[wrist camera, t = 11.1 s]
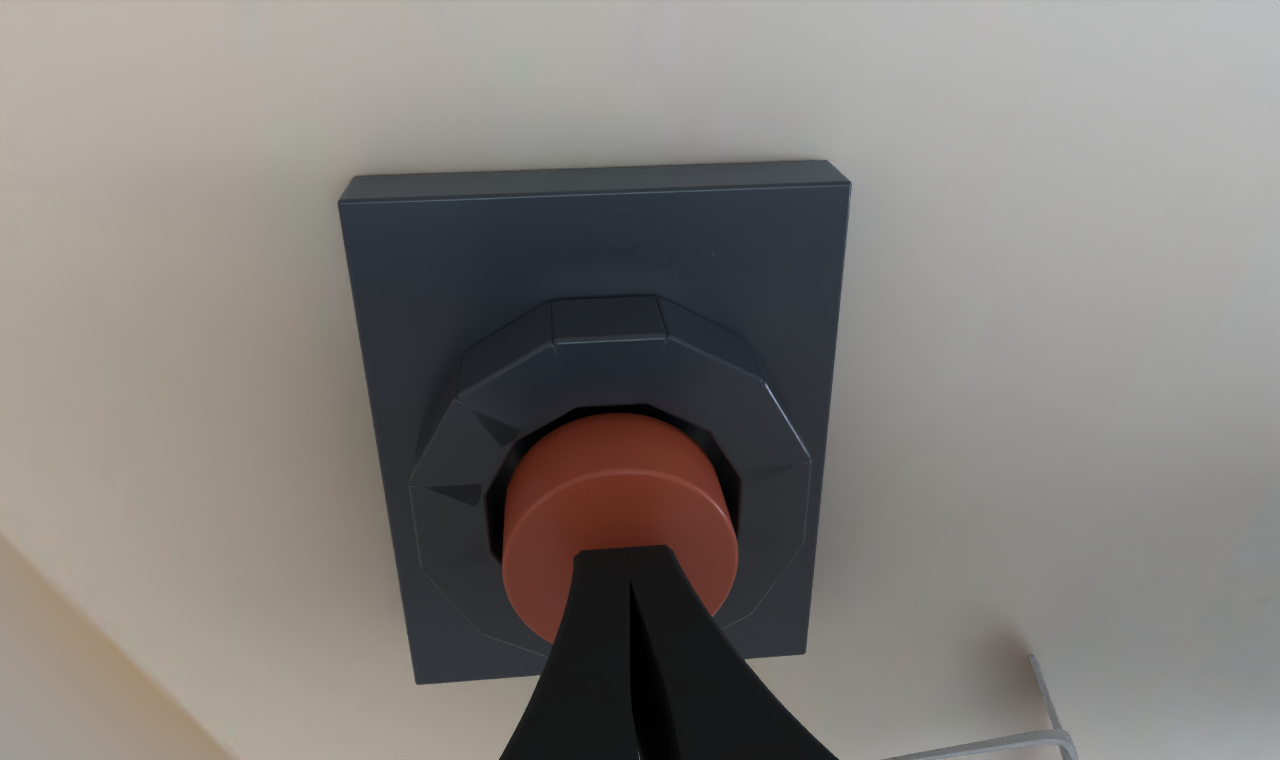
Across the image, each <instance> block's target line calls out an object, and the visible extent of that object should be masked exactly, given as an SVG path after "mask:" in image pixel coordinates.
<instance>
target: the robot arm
mask: <svg viewBox="0 0 1280 760" xmlns="http://www.w3.org/2000/svg"><path fill="white" fill-rule="evenodd" d="M637 747H638V748H637ZM638 752H639V754H638ZM639 757H640V760H839V759H838V758H837V757H835V756H834V755H833V754H832V753H831V752H830V751H829V750H828V749H827V748H826V747H825V746H824V745H823V744H822V743H820V742H819V741H818V740H817V739H816V738H815V737H814V736H813V735H812V734H811V733H810V732H809V731H808V730H807V729H806V728H805V727H804V726H803V725H802V724H801V723H800V722H799V721H798V720H797V719H796V718H795V717H794V716H793V715H792V714H791V713H790V712H789V711H788V710H787V709H786V708H785V707H784V706H783V705H782V703H781V702H780V701H779V700H778V699H777V698H776V697H775V696H774V695H773V694H772V692H771V691H770V690H769V689H768V688H767V687H766V686H765V684H764V683H763V682H762V681H761V680H760V679H759V677H758V676H757V675H756V674H755V673H754V671H753V670H752V669H751V668H750V667H749V665H748V664H747V663H746V662H745V660H744V659H743V658H742V657H741V655H740V654H739V653H738V652H737V650H736V649H735V648H734V646H733V645H732V644H731V642H730V641H729V639H728V638H727V637H726V635H725V634H724V633H723V631H722V630H721V629H720V627H719V626H718V624H717V623H716V622H715V620H714V619H713V617H712V616H711V615H710V613H709V612H708V610H707V609H706V607H705V606H704V604H703V603H702V601H701V599H700V598H699V596H698V595H697V593H696V591H695V590H694V588H693V587H692V585H691V583H690V582H689V580H688V578H687V577H686V575H685V573H684V571H683V569H682V568H681V566H680V564H679V562H678V560H677V558H676V556H675V554H674V551H673V550H672V549H671V548H669V547H668V546H667V545H666V544H665V545H651V546H636V547H622V548H607V549H593V550H581V551H580V552H579V553H578V554H577V555H576V556H574V560H573V574H572V581H571V586H570V591H569V595H568V599H567V603H566V606H565V610H564V614H563V617H562V620H561V623H560V626H559V629H558V632H557V635H556V638H555V640H554V643H553V646H552V649H551V652H550V655H549V657H548V660H547V662H546V665H545V667H544V669H543V671H542V674H541V676H540V678H539V681H538V683H537V685H536V688H535V690H534V692H533V695H532V697H531V699H530V701H529V703H528V706H527V708H526V710H525V712H524V714H523V716H522V718H521V720H520V722H519V724H518V726H517V728H516V730H515V731H514V733H513V735H512V737H511V739H510V741H509V742H508V744H507V746H506V748H505V750H504V752H503V753H502V755H501V757H500V759H499V760H639Z"/></svg>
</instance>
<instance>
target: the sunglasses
mask: <svg viewBox="0 0 1280 760" xmlns="http://www.w3.org/2000/svg"><path fill="white" fill-rule="evenodd" d="M1029 659H1030V662H1031V664H1032V667H1033V670H1034V673H1035V676H1036V678H1037V681H1038V684H1039V687H1040V690H1041V692H1042V695H1043V698H1044V701H1045V704H1046V707H1047V710H1048V713H1049V716H1050V720H1051V723H1052V726H1053V729H1051V730H1043V731H1034V732H1029V733H1024V734H1018V735H1013V736H1007V737H1002V738H996V739H991V740H985V741H980V742H974V743H969V744H964V745H958V746H953V747H947V748H942V749H936V750H931V751H925V752H920V753H914V754H909V755H903V756H898V757H893V758H887V759H882V760H934V759H941V758H949V757H956V756H963V755H970V754H977V753H985V752H992V751H999V750H1006V749H1013V748H1020V747H1028V746H1035V745H1054V744H1055V745H1059V748H1060V752H1061V755H1062V758H1063V760H1078V759H1079V758H1078V755H1077V752H1076V749H1075V746H1074V743H1073V741H1072V739H1071V737H1070V735H1069V734H1068V732H1066V731H1064V730H1063V729H1062V727H1061V724H1060V721H1059V718H1058V716H1057V713H1056V710H1055V707H1054V705H1053V702H1052V699H1051V696H1050V694H1049V691H1048V688H1047V686H1046V683H1045V680H1044V678H1043V675H1042V672H1041V669H1040V666H1039V664H1038V661H1037V659H1036V657H1035V656H1034V655H1031V656H1029Z"/></svg>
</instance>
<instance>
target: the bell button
mask: <svg viewBox="0 0 1280 760" xmlns="http://www.w3.org/2000/svg"><path fill="white" fill-rule="evenodd" d="M665 544H666V545H667V546H668V547H669V548H671V549H672V550H673V551H674V554H675V556H676V558H677V560H678V562H679V564H680V566H681V568H682V569H683V571H684V573H685V575H686V577H687V578H688V580H689V582H690V583H691V585H692V587H693V588H694V590H695V591H696V593H697V595H698V596H699V598H700V599H701V601H702V603H703V604H704V606H705V607H706V609H707V610H708V612H709V613H710V615H711V616H712V617H713V616H714V615H715V613H716V612H717V611H718V610H719V609H720V607H721V606H722V604H723V603H724V601H725V600H726V598H727V596H728V594H729V592H730V590H731V588H732V585H733V582H734V579H735V576H736V572H737V566H738V544H737V539H736V535H735V531H734V528H733V525H732V522H731V518H730V515H729V512H728V509H727V505H726V502H725V499H724V496H723V493H722V489H721V486H720V483H719V480H718V477H717V474H716V471H715V468H714V466H713V464H712V462H711V461H710V459H709V457H708V455H707V454H706V453H705V451H704V450H703V449H702V448H701V446H700V445H699V444H698V443H697V442H695V441H694V440H693V439H692V438H691V437H690V436H689V435H687V434H686V433H684V432H683V431H682V430H680V429H678V428H676V427H675V426H673V425H671V424H669V423H667V422H664V421H662V420H659V419H656V418H654V417H650V416H645V415H641V414H634V413H603V414H595V415H591V416H587V417H582V418H580V419H577V420H574V421H571V422H568V423H566V424H564V425H562V426H560V427H558V428H556V429H555V430H553V431H552V432H550V433H548V434H547V435H545V436H544V437H543V438H542V439H540V440H539V441H538V442H537V443H536V444H534V445H533V446H532V447H531V448H530V450H529V451H528V452H527V453H526V454H525V455H524V456H523V458H522V459H521V461H520V462H519V464H518V465H517V466H516V468H515V470H514V472H513V474H512V476H511V478H510V482H509V485H508V488H507V492H506V499H505V514H504V534H503V554H502V577H503V583H504V588H505V591H506V593H507V596H508V599H509V601H510V603H511V605H512V606H513V608H514V610H515V612H516V613H517V614H518V616H519V617H520V618H521V619H522V621H523V622H524V623H525V624H526V625H527V626H528V627H529V628H530V629H531V630H532V631H533V632H535V633H536V634H537V635H539V636H540V637H541V638H543V639H545V640H546V641H548V642H550V643H552V644H553V643H554V640H555V638H556V635H557V632H558V629H559V626H560V623H561V620H562V617H563V614H564V610H565V606H566V603H567V599H568V595H569V591H570V586H571V581H572V574H573V560H574V556H576V555H577V554H578V553H579V552H580V551H581V550H593V549H607V548H622V547H636V546H651V545H665Z"/></svg>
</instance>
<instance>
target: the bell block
mask: <svg viewBox="0 0 1280 760" xmlns="http://www.w3.org/2000/svg"><path fill="white" fill-rule="evenodd" d="M851 187H852V184H851V182H850V181H849V180H848V179H847V178H846V177H845V176H844V175H843V174H842V173H841V172H840V171H839V170H838V169H836V168H835V167H834V166H833V165H832V164H831V163H830V162H829V161H827V160H821V161H792V162H763V163H734V164H705V165H676V166H647V167H617V168H588V169H559V170H530V171H501V172H472V173H443V174H414V175H385V176H356V177H353V178H352V180H351V181H350V183H349V184H348V186H347V188H346V189H345V191H344V192H343V194H342V196H341V197H340V199H339V200H338V209H339V216H340V222H341V228H342V234H343V240H344V246H345V252H346V259H347V265H348V271H349V277H350V283H351V289H352V296H353V302H354V308H355V314H356V320H357V326H358V332H359V339H360V345H361V351H362V357H363V363H364V369H365V376H366V382H367V388H368V394H369V400H370V406H371V412H372V419H373V425H374V431H375V437H376V443H377V449H378V456H379V462H380V468H381V474H382V480H383V486H384V492H385V499H386V505H387V511H388V517H389V523H390V529H391V536H392V542H393V548H394V554H395V560H396V566H397V572H398V579H399V585H400V591H401V597H402V603H403V609H404V616H405V622H406V628H407V634H408V640H409V646H410V652H411V659H412V665H413V671H414V677H415V682H416V684H417V685H423V684H436V683H448V682H461V681H474V680H486V679H499V678H512V677H524V676H537V675H541V674H542V671H543V669H544V667H545V665H546V662H547V660H548V657H549V655H550V652H551V649H552V646H553V644H552V643H550V642H548V641H546V640H545V639H543V638H541V637H540V636H539V635H537V634H536V633H535V632H533V631H532V630H531V629H530V628H529V627H528V626H527V625H526V624H525V623H524V622H523V621H522V619H521V618H520V617H519V616H518V614H517V613H516V612H515V610H514V608H513V606H512V605H511V603H510V601H509V599H508V596H507V593H506V591H505V588H504V583H503V577H502V554H503V534H504V514H505V499H506V492H507V488H508V485H509V482H510V478H511V476H512V474H513V472H514V470H515V468H516V466H517V465H518V464H519V462H520V461H521V459H522V458H523V456H524V455H525V454H526V453H527V452H528V451H529V450H530V448H531V447H532V446H533V445H534V444H536V443H537V442H538V441H539V440H540V439H542V438H543V437H544V436H545V435H547V434H548V433H550V432H552V431H553V430H555V429H556V428H558V427H560V426H562V425H564V424H566V423H568V422H571V421H574V420H577V419H580V418H582V417H587V416H591V415H595V414H603V413H634V414H641V415H645V416H650V417H654V418H656V419H659V420H662V421H664V422H667V423H669V424H671V425H673V426H675V427H676V428H678V429H680V430H682V431H683V432H684V433H686V434H687V435H689V436H690V437H691V438H692V439H693V440H694V441H695V442H697V443H698V444H699V445H700V446H701V448H702V449H703V450H704V451H705V453H706V454H707V455H708V457H709V459H710V461H711V462H712V464H713V466H714V468H715V471H716V474H717V477H718V480H719V483H720V486H721V489H722V493H723V496H724V499H725V502H726V505H727V509H728V512H729V515H730V518H731V522H732V525H733V528H734V531H735V535H736V539H737V544H738V566H737V572H736V576H735V579H734V582H733V585H732V588H731V590H730V592H729V594H728V596H727V598H726V600H725V601H724V603H723V604H722V606H721V607H720V609H719V610H718V611H717V612H716V613H715V615H714V616H713V619H714V620H715V622H716V623H717V624H718V626H719V627H720V629H721V630H722V631H723V633H724V634H725V635H726V637H727V638H728V639H729V641H730V642H731V644H732V645H733V646H734V648H735V649H736V650H737V652H738V653H739V654H740V655H741V657H742V658H743V659H752V658H765V657H778V656H791V655H803V654H805V653H806V645H807V635H808V625H809V615H810V605H811V594H812V584H813V574H814V564H815V554H816V543H817V533H818V523H819V513H820V503H821V493H822V482H823V472H824V462H825V452H826V442H827V431H828V421H829V411H830V401H831V391H832V381H833V370H834V360H835V350H836V340H837V330H838V319H839V309H840V299H841V289H842V279H843V268H844V258H845V248H846V238H847V228H848V218H849V207H850V197H851Z"/></svg>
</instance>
